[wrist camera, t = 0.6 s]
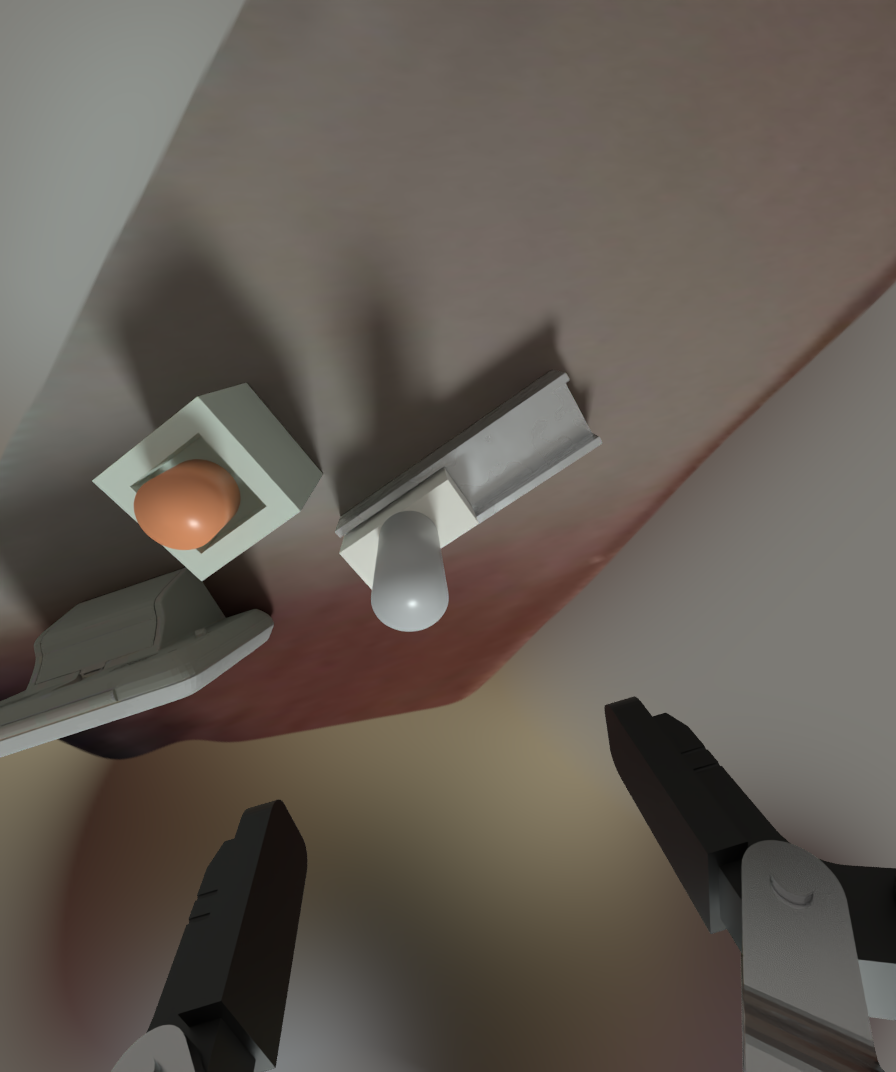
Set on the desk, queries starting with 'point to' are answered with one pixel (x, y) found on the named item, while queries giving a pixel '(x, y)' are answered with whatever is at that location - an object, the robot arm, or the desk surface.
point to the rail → (498, 452)
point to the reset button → (187, 504)
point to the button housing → (240, 448)
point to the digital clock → (127, 658)
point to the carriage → (410, 552)
